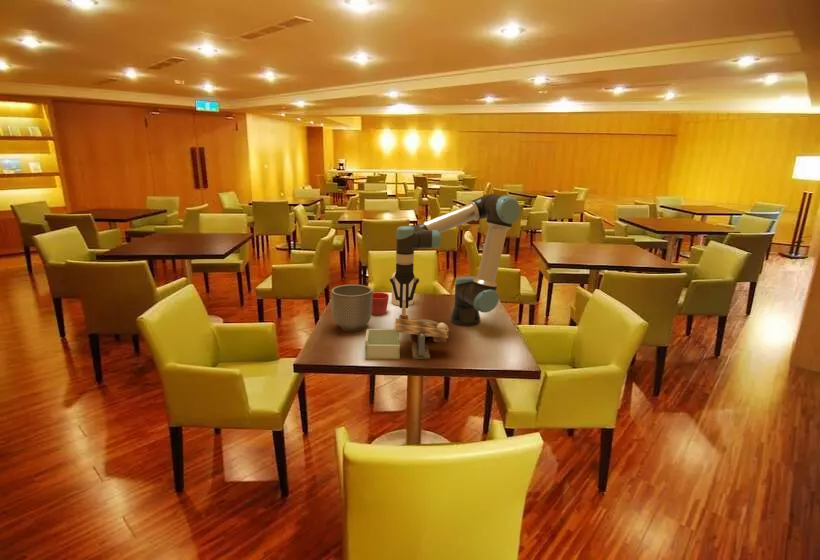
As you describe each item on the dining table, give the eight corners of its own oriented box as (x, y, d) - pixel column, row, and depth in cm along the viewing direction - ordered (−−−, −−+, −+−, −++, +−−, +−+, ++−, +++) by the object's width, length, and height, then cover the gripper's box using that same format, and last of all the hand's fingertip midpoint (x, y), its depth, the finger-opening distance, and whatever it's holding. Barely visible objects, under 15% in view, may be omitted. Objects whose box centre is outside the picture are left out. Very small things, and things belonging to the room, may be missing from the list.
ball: (437, 330, 191) (446, 329, 191) (438, 334, 187) (447, 332, 187) (435, 321, 190) (445, 320, 190) (436, 325, 186) (446, 323, 186)
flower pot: (392, 311, 240) (393, 294, 238) (380, 317, 231) (380, 299, 229) (376, 308, 246) (376, 291, 243) (364, 313, 237) (364, 296, 234)
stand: (427, 346, 197) (428, 322, 194) (430, 358, 185) (430, 333, 182) (411, 346, 197) (412, 322, 194) (412, 358, 185) (413, 333, 182)
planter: (336, 320, 226) (335, 283, 221) (375, 321, 226) (375, 284, 221) (327, 335, 207) (326, 295, 202) (370, 336, 207) (370, 296, 202)
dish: (440, 344, 200) (441, 334, 198) (408, 343, 200) (408, 332, 199) (439, 329, 217) (440, 320, 215) (409, 328, 217) (410, 318, 216)
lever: (442, 327, 204) (444, 315, 203) (446, 343, 186) (449, 330, 185) (393, 321, 202) (395, 309, 201) (394, 337, 185) (396, 324, 183)
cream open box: (399, 346, 197) (399, 329, 195) (399, 359, 184) (399, 341, 182) (366, 346, 196) (366, 329, 194) (365, 359, 184) (365, 340, 182)
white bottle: (389, 305, 250) (389, 270, 245) (393, 298, 262) (394, 265, 257) (411, 307, 248) (412, 271, 243) (415, 300, 260) (416, 266, 255)
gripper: (419, 261, 197) (418, 312, 203) (389, 260, 196) (389, 312, 202) (420, 265, 189) (419, 318, 196) (389, 264, 189) (388, 317, 195)
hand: (403, 314), depth 199 cm, fingers closed
